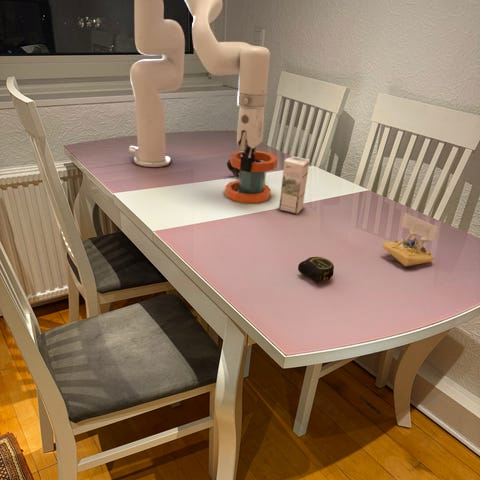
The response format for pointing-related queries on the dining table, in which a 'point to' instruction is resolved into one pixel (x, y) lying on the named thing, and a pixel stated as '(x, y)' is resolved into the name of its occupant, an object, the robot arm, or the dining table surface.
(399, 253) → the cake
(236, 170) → the broken clay pot
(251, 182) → the tumbler
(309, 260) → the tape measure
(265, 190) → the orange ring
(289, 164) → the syrup box
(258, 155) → the orange ring
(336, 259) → the dining table surface
